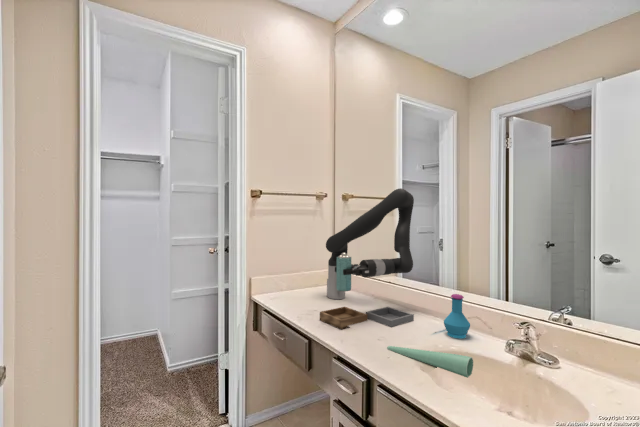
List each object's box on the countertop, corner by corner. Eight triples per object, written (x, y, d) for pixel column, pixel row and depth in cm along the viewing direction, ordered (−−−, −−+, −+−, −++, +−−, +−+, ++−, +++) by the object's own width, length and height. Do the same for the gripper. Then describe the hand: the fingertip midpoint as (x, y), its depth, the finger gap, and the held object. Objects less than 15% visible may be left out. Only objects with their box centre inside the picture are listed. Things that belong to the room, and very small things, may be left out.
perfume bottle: (465, 331, 129) (465, 292, 129) (473, 340, 120) (474, 298, 120) (440, 330, 130) (441, 291, 130) (447, 339, 121) (448, 297, 121)
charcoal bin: (365, 320, 141) (365, 311, 141) (387, 314, 149) (387, 306, 149) (391, 329, 130) (391, 320, 130) (413, 322, 138) (413, 314, 138)
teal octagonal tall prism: (333, 289, 139) (333, 252, 139) (344, 287, 143) (344, 251, 143) (343, 292, 134) (343, 253, 134) (354, 290, 138) (354, 252, 138)
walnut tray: (319, 320, 140) (319, 311, 140) (344, 314, 148) (344, 306, 148) (341, 329, 129) (341, 320, 129) (367, 322, 137) (367, 314, 137)
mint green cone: (391, 331, 114) (473, 354, 95) (391, 347, 114) (473, 373, 95) (383, 335, 110) (467, 360, 91) (382, 352, 110) (466, 380, 91)
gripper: (362, 257, 151) (330, 259, 144) (382, 261, 139) (348, 264, 131) (362, 273, 151) (330, 276, 144) (382, 279, 139) (348, 283, 131)
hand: (339, 270), depth 137 cm, fingers closed on teal octagonal tall prism, 6 cm apart
